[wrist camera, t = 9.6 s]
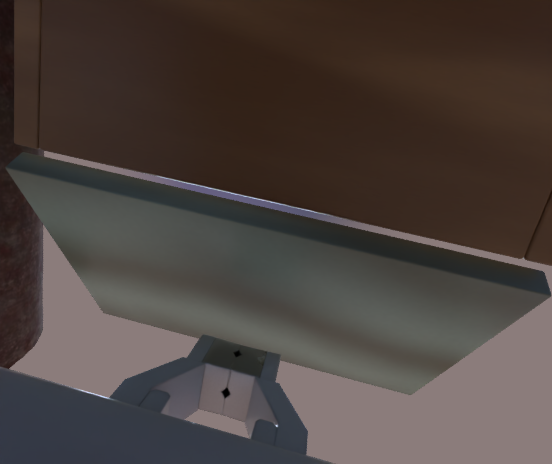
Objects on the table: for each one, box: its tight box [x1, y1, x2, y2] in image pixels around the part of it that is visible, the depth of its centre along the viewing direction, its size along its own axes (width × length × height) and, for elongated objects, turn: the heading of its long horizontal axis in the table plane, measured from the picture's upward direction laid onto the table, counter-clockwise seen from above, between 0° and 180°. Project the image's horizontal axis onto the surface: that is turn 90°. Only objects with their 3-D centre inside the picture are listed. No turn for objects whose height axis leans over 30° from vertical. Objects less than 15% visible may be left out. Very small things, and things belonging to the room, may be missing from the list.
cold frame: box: [14, 0, 552, 266], centre depth 13 cm, size 9×16×8 cm, turn 98°
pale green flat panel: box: [5, 152, 551, 395], centre depth 14 cm, size 10×16×1 cm
